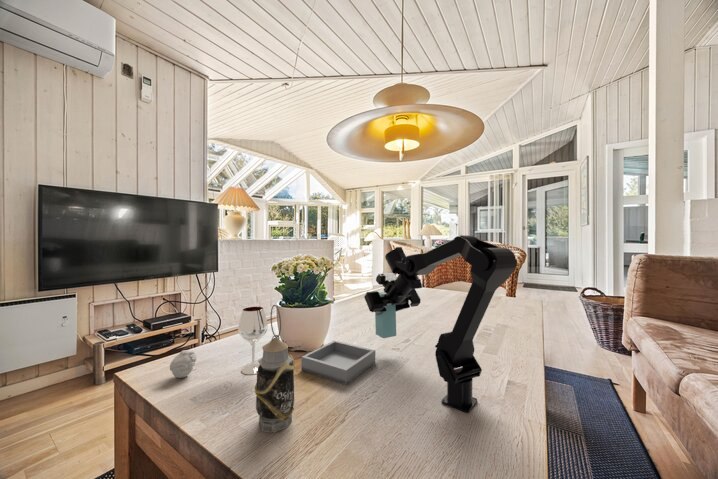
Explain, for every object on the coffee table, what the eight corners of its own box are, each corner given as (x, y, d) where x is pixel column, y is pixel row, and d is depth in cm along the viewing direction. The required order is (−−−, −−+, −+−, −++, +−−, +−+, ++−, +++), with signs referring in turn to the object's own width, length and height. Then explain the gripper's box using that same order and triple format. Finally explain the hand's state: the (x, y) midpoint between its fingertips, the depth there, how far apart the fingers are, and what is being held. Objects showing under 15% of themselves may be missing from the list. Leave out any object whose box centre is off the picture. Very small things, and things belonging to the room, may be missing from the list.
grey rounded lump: (201, 372, 85) (201, 348, 85) (180, 384, 78) (180, 358, 78) (185, 369, 87) (185, 346, 87) (163, 380, 80) (163, 355, 80)
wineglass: (233, 369, 87) (233, 309, 86) (259, 361, 93) (259, 304, 92) (246, 379, 81) (246, 314, 81) (272, 369, 87) (272, 308, 87)
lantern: (300, 427, 61) (300, 307, 61) (260, 441, 57) (260, 312, 56) (286, 406, 68) (286, 299, 68) (250, 417, 64) (250, 303, 63)
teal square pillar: (396, 335, 97) (395, 293, 97) (383, 338, 95) (382, 294, 95) (388, 331, 102) (387, 290, 102) (375, 334, 100) (374, 292, 100)
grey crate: (346, 385, 78) (346, 370, 78) (301, 370, 86) (301, 356, 86) (375, 363, 91) (375, 350, 91) (334, 352, 100) (334, 340, 100)
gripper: (415, 264, 99) (396, 291, 109) (367, 266, 90) (351, 295, 100) (431, 291, 92) (409, 317, 102) (380, 296, 84) (362, 324, 93)
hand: (383, 313), depth 100 cm, fingers closed on teal square pillar, 5 cm apart
